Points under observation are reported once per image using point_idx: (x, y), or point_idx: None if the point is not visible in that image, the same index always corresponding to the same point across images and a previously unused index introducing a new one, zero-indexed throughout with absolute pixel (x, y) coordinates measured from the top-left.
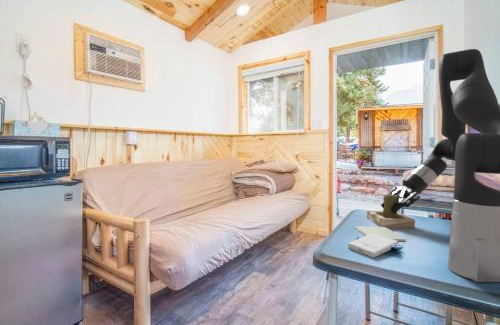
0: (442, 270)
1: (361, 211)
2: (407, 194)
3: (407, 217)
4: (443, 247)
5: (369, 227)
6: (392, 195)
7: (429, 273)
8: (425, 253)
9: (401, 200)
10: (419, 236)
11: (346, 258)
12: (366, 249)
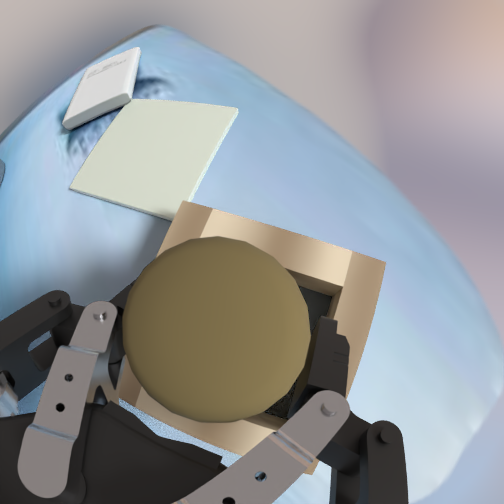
0: (11, 151)
1: (479, 348)
2: (31, 414)
3: (156, 402)
4: (12, 259)
5: (203, 146)
6: (159, 305)
7: (24, 126)
8: (30, 176)
9: (78, 322)
10: (65, 283)
11: (119, 46)
12: (100, 62)
